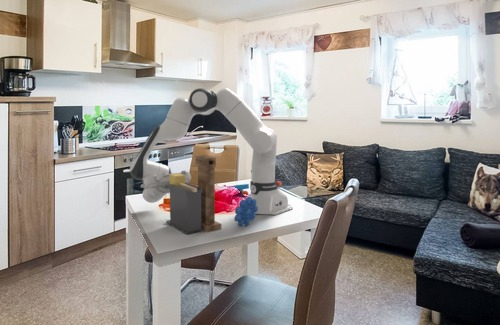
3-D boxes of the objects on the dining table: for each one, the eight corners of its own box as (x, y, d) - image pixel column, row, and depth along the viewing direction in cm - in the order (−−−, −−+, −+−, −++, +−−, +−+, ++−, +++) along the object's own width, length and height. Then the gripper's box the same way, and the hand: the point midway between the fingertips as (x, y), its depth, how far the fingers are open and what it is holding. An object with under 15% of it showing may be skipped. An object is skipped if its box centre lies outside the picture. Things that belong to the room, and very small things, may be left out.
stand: (205, 221, 156) (204, 154, 151) (221, 228, 146) (221, 157, 142) (190, 224, 151) (190, 155, 147) (206, 232, 142) (206, 159, 138)
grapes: (250, 220, 158) (251, 193, 156) (260, 224, 152) (261, 196, 151) (228, 225, 151) (228, 197, 149) (238, 229, 145) (238, 200, 143)
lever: (229, 198, 213) (240, 197, 197) (228, 186, 214) (239, 184, 198) (240, 197, 216) (252, 196, 200) (239, 186, 217) (251, 183, 201)
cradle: (181, 220, 157) (180, 180, 154) (202, 230, 143) (202, 187, 141) (165, 223, 152) (165, 182, 150) (186, 234, 139) (186, 190, 136)
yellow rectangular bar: (179, 183, 152) (179, 173, 152) (200, 191, 139) (200, 179, 139) (169, 185, 150) (169, 174, 149) (190, 192, 137) (190, 181, 136)
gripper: (137, 180, 155) (148, 168, 144) (180, 175, 167) (194, 164, 157) (140, 194, 153) (152, 183, 143) (184, 188, 166) (197, 177, 155)
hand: (174, 173), depth 150 cm, fingers open, 8 cm apart
